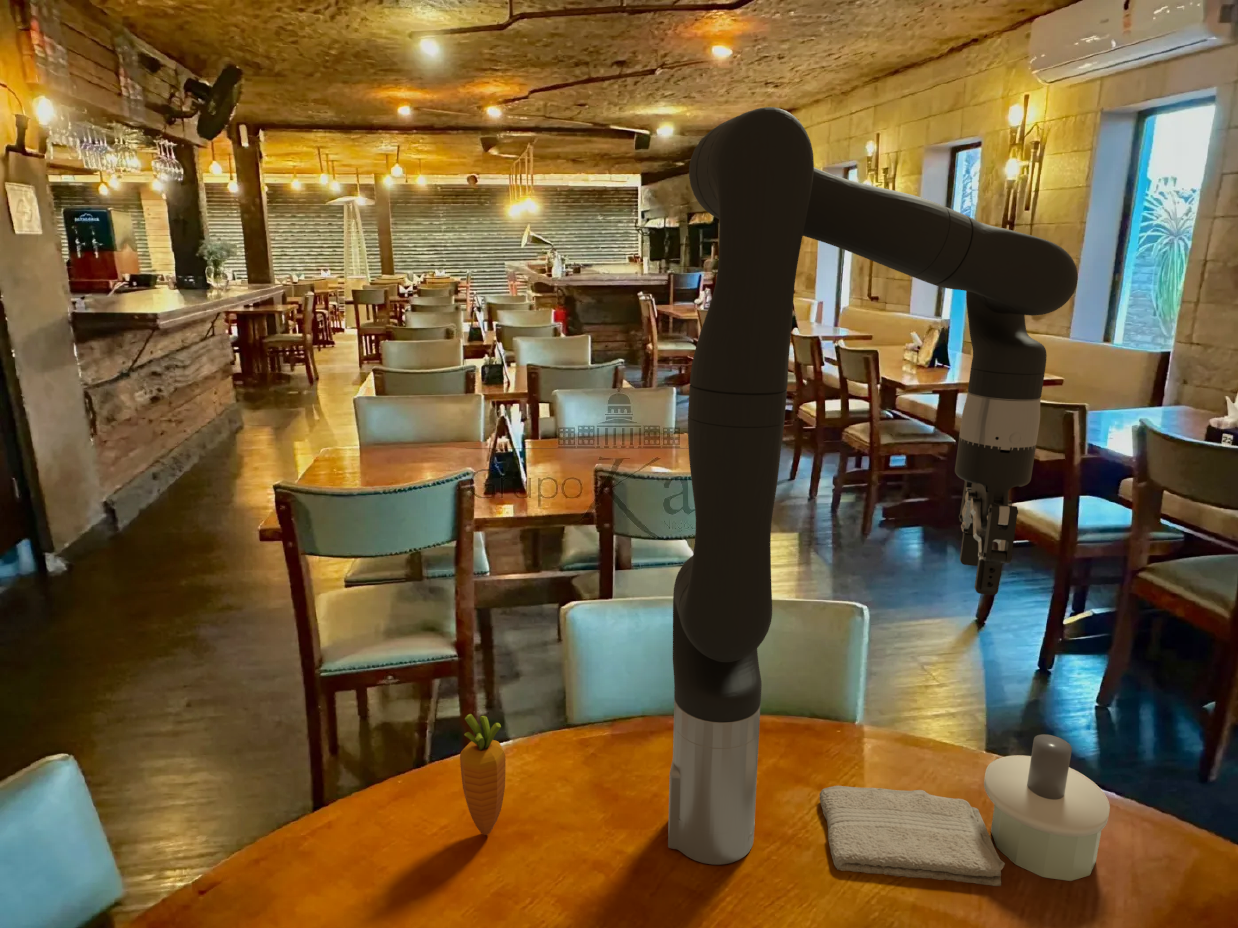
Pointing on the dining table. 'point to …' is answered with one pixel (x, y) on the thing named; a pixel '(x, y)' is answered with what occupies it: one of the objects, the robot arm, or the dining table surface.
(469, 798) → the carrot
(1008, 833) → the cup
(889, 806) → the washcloth
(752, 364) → the robot arm
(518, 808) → the dining table surface
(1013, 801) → the lid
